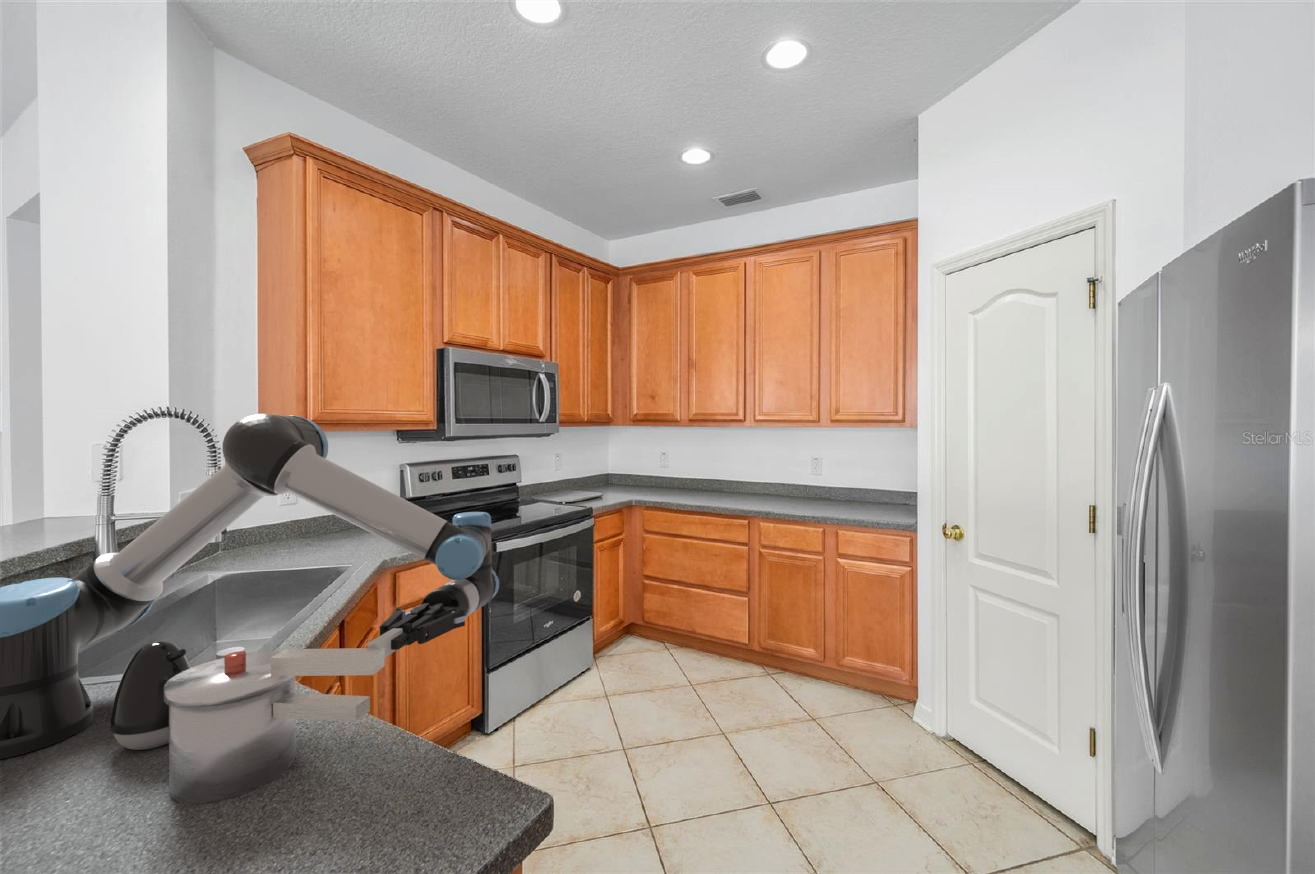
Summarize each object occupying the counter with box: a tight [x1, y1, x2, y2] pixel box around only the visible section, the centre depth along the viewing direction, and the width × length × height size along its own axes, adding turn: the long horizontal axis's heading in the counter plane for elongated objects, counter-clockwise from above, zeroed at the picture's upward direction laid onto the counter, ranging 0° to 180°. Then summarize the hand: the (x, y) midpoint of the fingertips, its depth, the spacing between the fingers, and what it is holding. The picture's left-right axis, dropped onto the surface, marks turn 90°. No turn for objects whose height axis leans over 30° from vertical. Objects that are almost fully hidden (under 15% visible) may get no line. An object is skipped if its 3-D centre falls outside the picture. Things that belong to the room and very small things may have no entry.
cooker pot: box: [168, 677, 371, 805], centre depth 77 cm, size 26×14×12 cm, turn 84°
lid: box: [164, 647, 386, 708], centre depth 78 cm, size 28×15×4 cm, turn 90°
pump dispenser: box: [109, 640, 191, 751], centre depth 86 cm, size 10×10×15 cm
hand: (372, 653), depth 80 cm, fingers closed
